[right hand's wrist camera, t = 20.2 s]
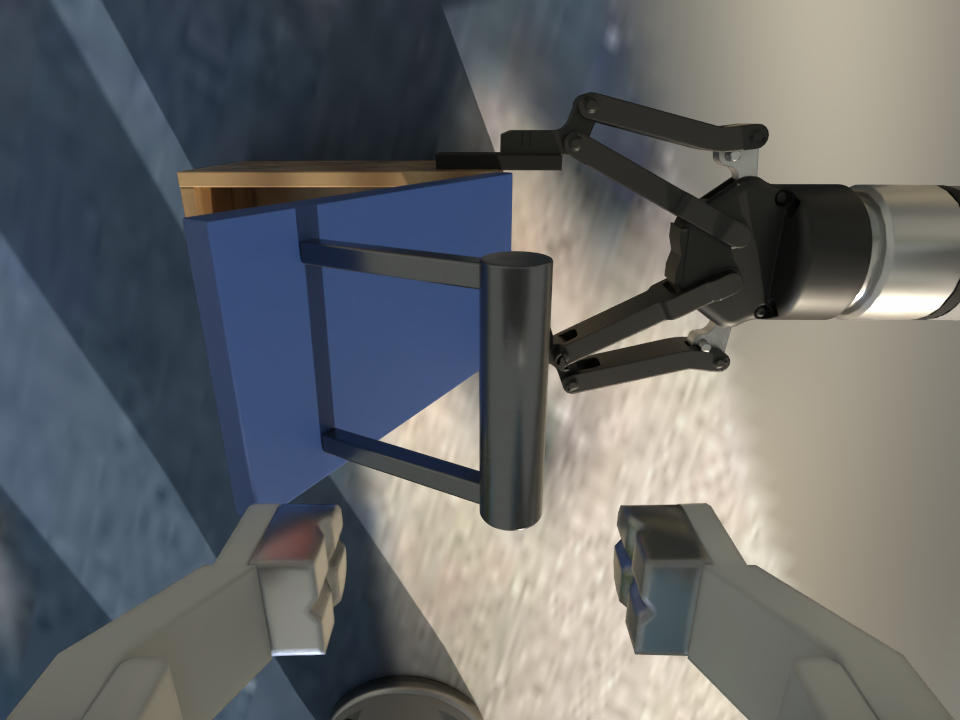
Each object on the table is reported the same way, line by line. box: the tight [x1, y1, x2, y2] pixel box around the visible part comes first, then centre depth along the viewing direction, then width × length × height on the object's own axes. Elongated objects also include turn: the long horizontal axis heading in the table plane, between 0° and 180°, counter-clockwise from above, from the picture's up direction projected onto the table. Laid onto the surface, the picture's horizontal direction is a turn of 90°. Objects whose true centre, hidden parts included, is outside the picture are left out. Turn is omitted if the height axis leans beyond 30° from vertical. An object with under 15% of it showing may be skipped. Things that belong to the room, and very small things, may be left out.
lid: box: [182, 172, 553, 531], centre depth 22 cm, size 17×9×9 cm
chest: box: [177, 161, 503, 217], centre depth 36 cm, size 16×9×9 cm, turn 90°
